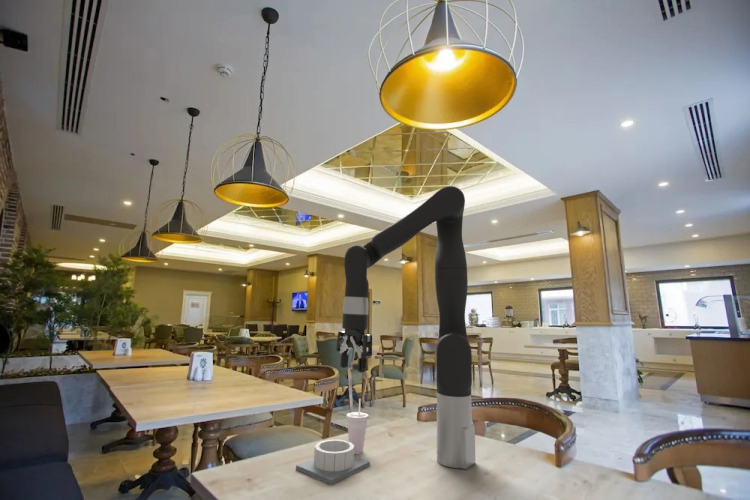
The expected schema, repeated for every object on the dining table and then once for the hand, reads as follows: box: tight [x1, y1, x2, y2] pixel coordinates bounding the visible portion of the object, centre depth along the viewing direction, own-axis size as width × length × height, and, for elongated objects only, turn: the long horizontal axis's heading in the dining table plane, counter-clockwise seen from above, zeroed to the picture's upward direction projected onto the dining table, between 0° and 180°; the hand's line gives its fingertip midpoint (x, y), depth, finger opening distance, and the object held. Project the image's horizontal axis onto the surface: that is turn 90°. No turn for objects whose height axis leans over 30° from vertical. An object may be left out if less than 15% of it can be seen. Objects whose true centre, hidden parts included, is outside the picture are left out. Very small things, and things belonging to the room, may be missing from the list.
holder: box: [295, 439, 371, 485], centre depth 92 cm, size 12×14×5 cm
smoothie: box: [345, 398, 369, 455], centre depth 104 cm, size 6×6×14 cm
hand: (352, 369), depth 107 cm, fingers open, 8 cm apart
